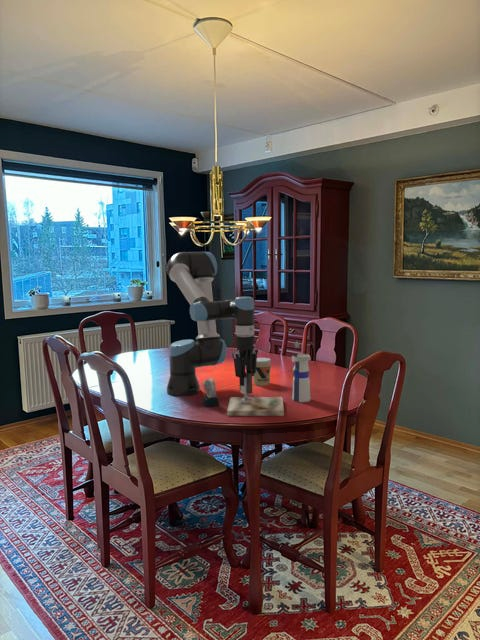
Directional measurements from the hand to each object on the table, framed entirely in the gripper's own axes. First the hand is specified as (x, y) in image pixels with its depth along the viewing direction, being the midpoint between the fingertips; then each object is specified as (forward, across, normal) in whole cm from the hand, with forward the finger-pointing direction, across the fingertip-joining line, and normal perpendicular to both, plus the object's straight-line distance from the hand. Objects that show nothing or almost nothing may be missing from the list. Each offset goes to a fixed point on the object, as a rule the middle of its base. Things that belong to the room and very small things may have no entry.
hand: (246, 392), depth 197 cm
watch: (+7, -6, +14) cm, 17 cm away
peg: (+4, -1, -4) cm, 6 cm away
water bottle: (+7, +23, -10) cm, 26 cm away
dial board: (+6, +2, -4) cm, 8 cm away
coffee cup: (+7, +32, +19) cm, 38 cm away
